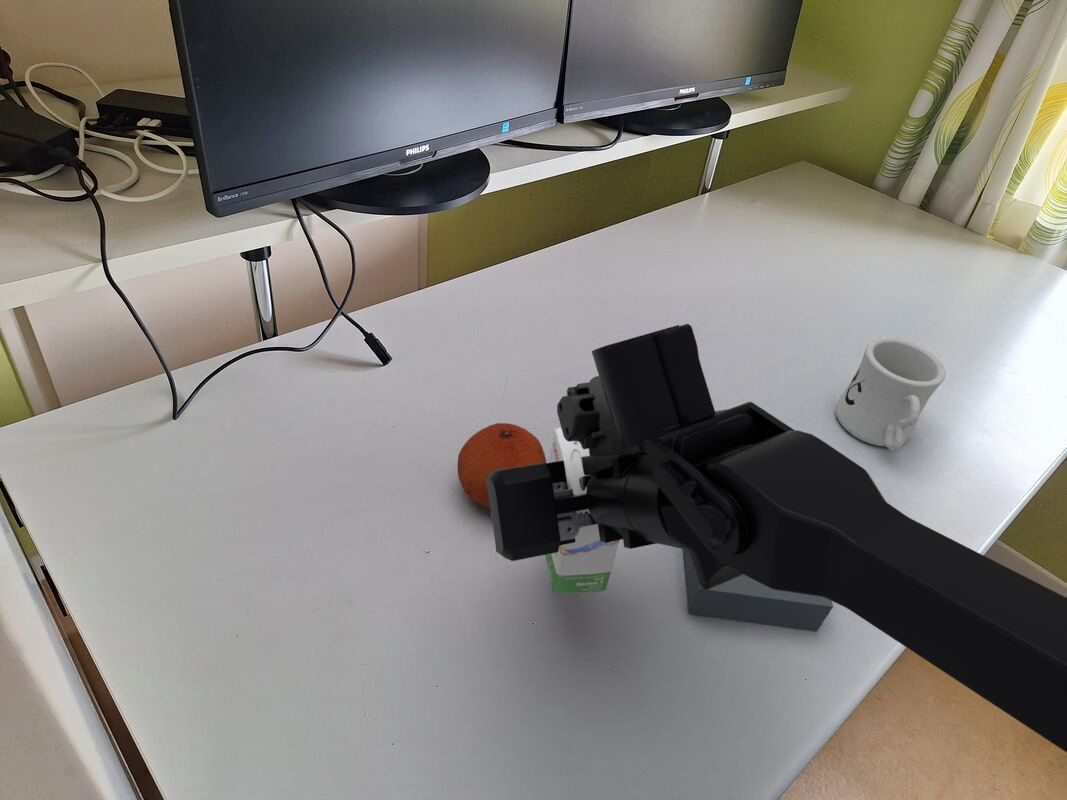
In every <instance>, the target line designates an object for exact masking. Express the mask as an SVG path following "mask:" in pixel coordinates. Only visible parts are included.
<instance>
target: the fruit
mask: <svg viewBox="0 0 1067 800" xmlns="http://www.w3.org/2000/svg"><path fill="white" fill-rule="evenodd" d="M541 463H547V459H546V454H545V451H544V449H543V446H542V444H541V442H540V440H539V439H538V438H537V436H535V435H534V434H533V433H531V432H530V431H529V430H528V429H526V428H524V427H522V426H520V425H517V424H513V423H509V422H496V423H494V424H490V425H488V426H486V427H483V428H482V429H480V430H479V431H476V432H475V433H474V434H473V435H472V436H470V437H469V438H468V440H466V441H465V443H464V445H463V446H462V447H461V448H460V451H459V453H458V456H457V478H458V480H459V483H460V485H461V488H462V489H463V491H464V493H465V494H466V495H467V496H468V497H469V498H470V499H472V500H473V501H474V502H475V503H478V504H479V505H481V506H483V507H486V508H488V509H490V502H489V495H488V488H487V481H486V479H487V478H488V477H489V475H490V474H491V472H492V471H493V470H500V469H506V468H512V467H519V466H525V465H533V464H541Z"/></svg>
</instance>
